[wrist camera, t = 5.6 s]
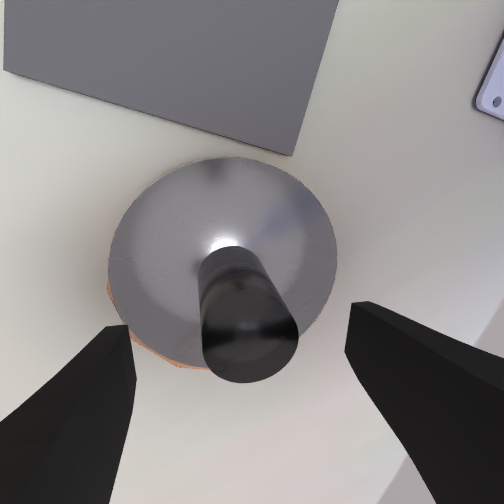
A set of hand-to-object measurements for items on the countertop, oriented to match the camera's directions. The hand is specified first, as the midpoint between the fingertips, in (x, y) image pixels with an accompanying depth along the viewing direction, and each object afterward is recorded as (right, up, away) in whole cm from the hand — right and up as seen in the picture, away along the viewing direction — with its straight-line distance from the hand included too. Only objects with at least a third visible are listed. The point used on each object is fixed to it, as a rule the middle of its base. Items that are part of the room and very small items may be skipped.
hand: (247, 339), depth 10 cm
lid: (-1, +2, +4) cm, 4 cm away
